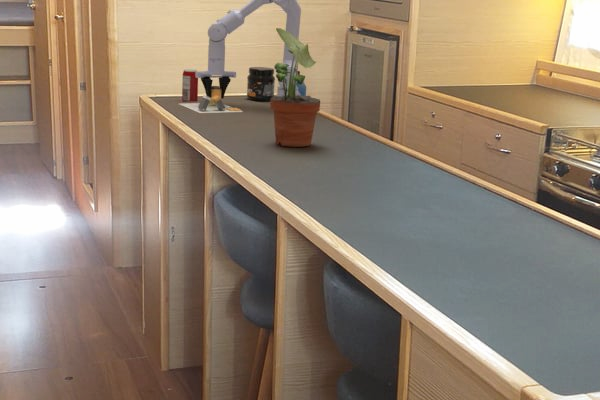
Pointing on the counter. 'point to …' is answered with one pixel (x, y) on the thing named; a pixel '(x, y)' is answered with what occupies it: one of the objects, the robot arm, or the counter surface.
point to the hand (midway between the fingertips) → (215, 98)
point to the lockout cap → (215, 93)
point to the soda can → (189, 86)
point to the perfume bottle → (301, 87)
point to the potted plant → (294, 99)
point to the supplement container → (260, 84)
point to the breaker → (204, 103)
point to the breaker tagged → (218, 103)
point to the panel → (210, 108)
